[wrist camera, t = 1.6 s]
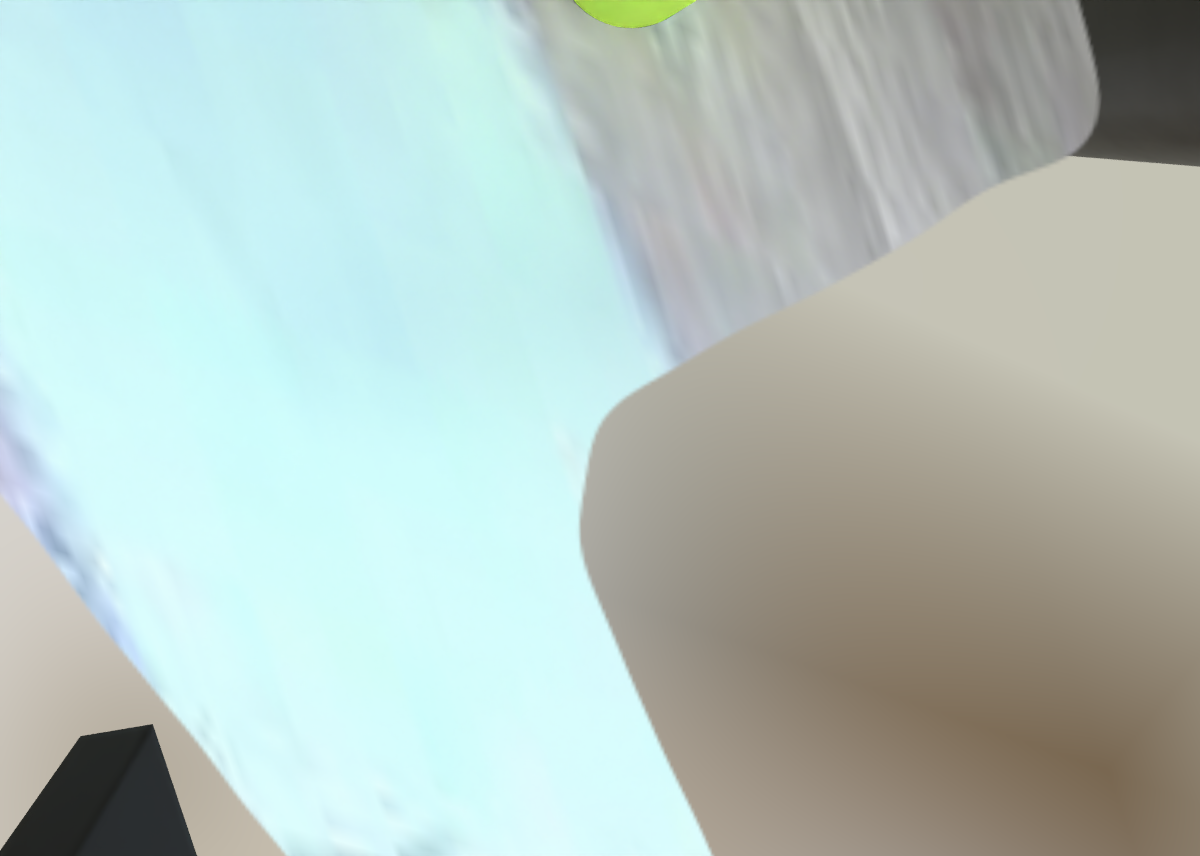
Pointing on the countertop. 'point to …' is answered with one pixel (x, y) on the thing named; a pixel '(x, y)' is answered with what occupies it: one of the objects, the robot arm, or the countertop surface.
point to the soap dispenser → (632, 11)
